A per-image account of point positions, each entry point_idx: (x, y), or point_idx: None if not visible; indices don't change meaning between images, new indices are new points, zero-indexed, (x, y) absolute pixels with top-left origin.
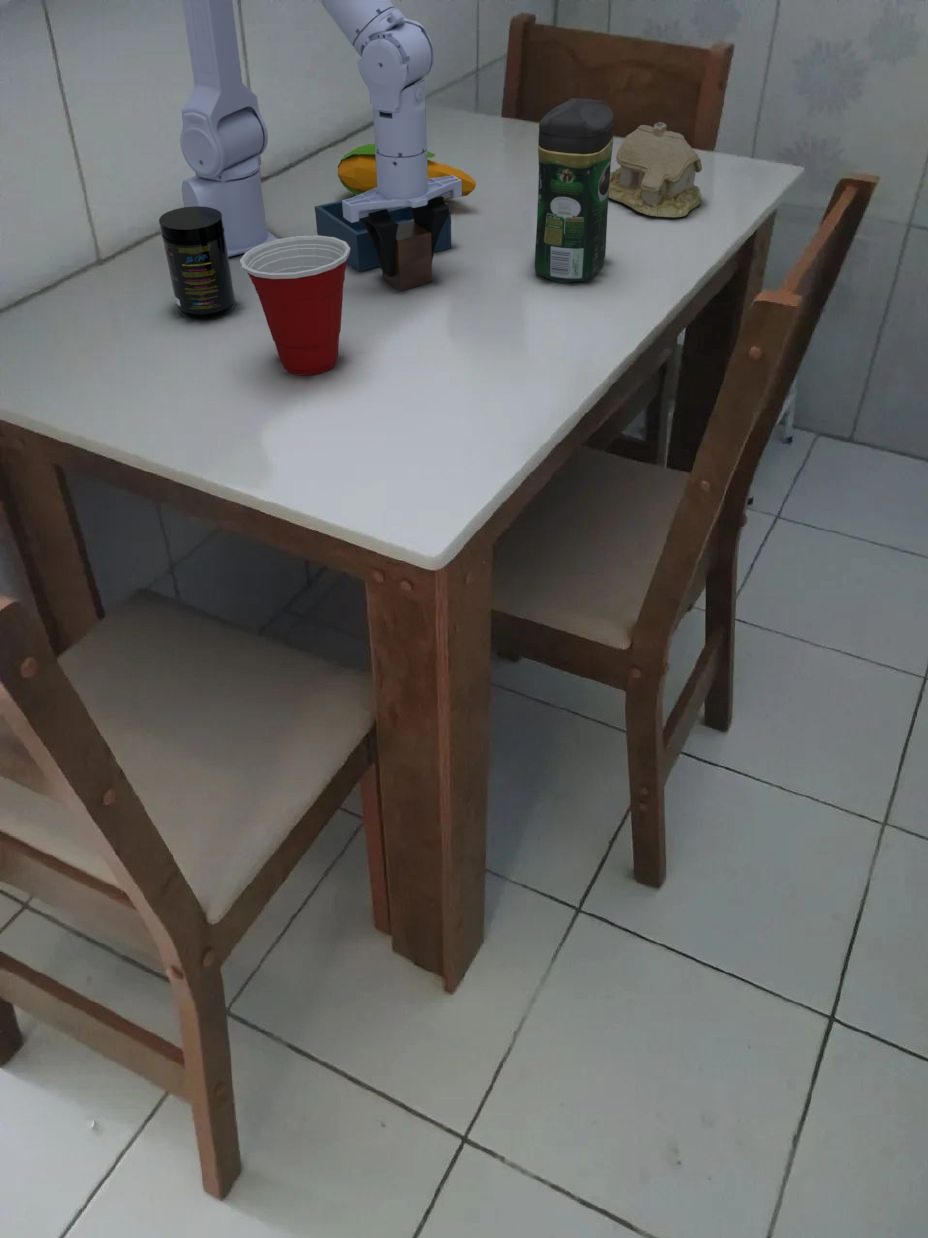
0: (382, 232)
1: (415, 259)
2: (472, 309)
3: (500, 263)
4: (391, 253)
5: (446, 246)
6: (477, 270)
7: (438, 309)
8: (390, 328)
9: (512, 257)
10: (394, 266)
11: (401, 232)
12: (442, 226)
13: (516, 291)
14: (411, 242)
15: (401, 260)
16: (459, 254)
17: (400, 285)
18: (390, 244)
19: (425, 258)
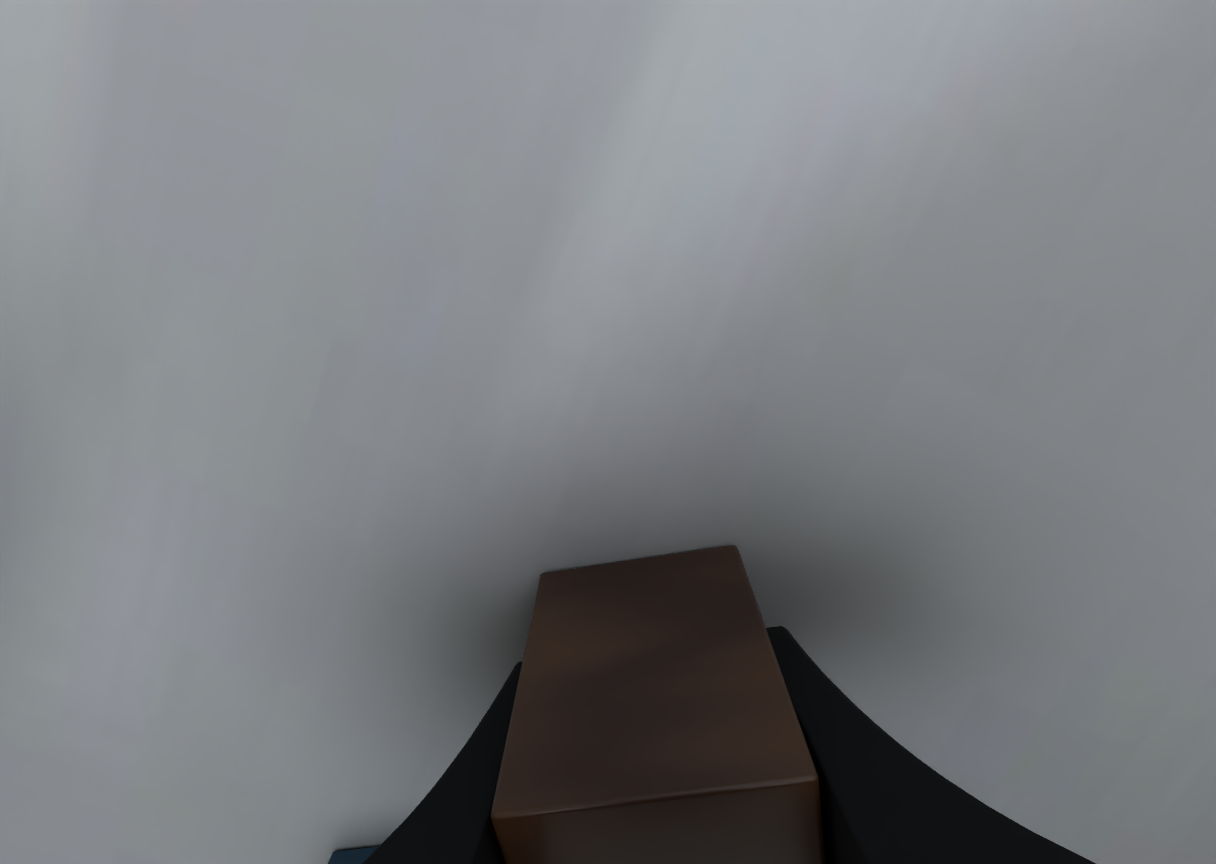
0: (1063, 854)
1: (644, 658)
2: (436, 151)
3: (134, 636)
4: (832, 714)
5: (354, 858)
6: (271, 610)
7: (634, 242)
8: (1020, 102)
9: (59, 673)
10: (777, 657)
11: None
12: (366, 859)
13: (107, 286)
14: (682, 754)
15: (758, 654)
16: (315, 785)
17: (740, 560)
18: (873, 764)
19: (569, 659)
